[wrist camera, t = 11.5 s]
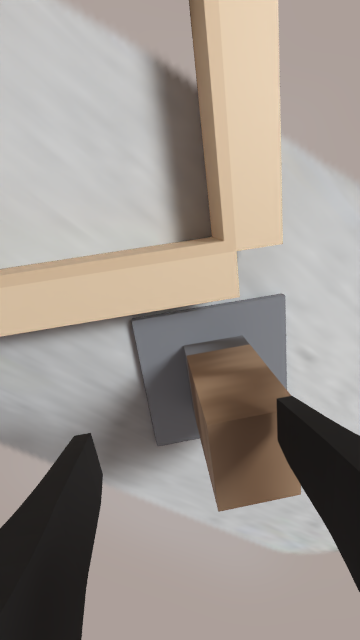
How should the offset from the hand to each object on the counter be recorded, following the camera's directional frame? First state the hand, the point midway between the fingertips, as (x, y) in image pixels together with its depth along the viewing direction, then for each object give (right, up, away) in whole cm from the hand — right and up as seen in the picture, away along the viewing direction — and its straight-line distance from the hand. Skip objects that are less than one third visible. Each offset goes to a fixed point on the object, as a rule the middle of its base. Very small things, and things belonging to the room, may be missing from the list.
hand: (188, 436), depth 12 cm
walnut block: (+2, +1, +9) cm, 10 cm away
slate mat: (+2, +1, +10) cm, 10 cm away
